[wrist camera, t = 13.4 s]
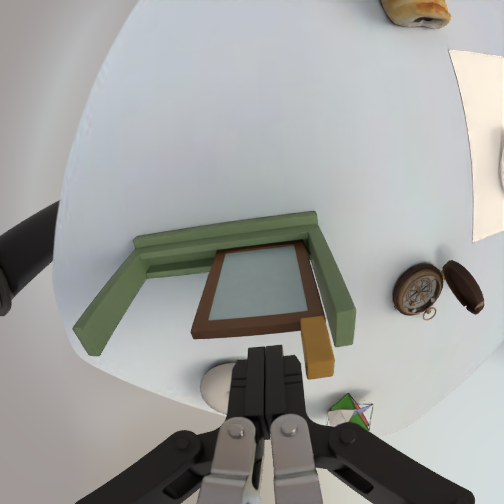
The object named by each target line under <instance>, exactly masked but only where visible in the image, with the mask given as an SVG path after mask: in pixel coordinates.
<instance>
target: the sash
mask: <svg viewBox="0 0 504 504" xmlns="http://www.w3.org/2000/svg"><path fill="white" fill-rule="evenodd" d="M293 331H301V338H302V345H303V352H304V360H305V368H306V376H307V379H316V378H323V377H330V376H333V374H334V362H335V359H334V355H333V350H332V346H331V342H330V338H329V334H328V330H327V326H326V318H325V314H324V311H323V307H322V303H321V300H320V296H319V292H318V289H317V285H316V282H315V278H314V275H313V271H312V268H311V264H310V261H309V257H308V254H307V251H306V247H305V244H304V241H303V239H299V240H291V241H283V242H275V243H267V244H259V245H251V246H243V247H235V248H228V249H220V250H217V252H216V255H215V258H214V261H213V264H212V267H211V270H210V273H209V276H208V279H207V282H206V285H205V288H204V291H203V294H202V297H201V300H200V303H199V306H198V309H197V313H196V316H195V319H194V322H193V325H192V328H191V334H192V337H193V339H210V338H227V337H241V336H253V335H264V334H274V333H284V332H293Z"/></svg>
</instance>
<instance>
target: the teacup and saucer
mask: <svg viewBox="0 0 504 504" xmlns="http://www.w3.org/2000/svg"><path fill="white" fill-rule="evenodd" d="M500 180H501V185H502V188H503V189H504V147H503V148H502V152H501V157H500Z"/></svg>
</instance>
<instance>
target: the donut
mask: <svg viewBox="0 0 504 504" xmlns="http://www.w3.org/2000/svg"><path fill="white" fill-rule="evenodd" d="M235 364H236V363H228V364H223V365H219V366H217V367H215V368H212V369H210V370H209V371H208V372H207V373H206V374H205V375H204V377H203V378H202V380H201V384H200V392H201V395H202V398H203V400H204V401H205V402H206V403H207V404H208V405H209V406H210V407H211V408H212V409H214V410H216V411H217V412H220V413H223V414H225V415H227V409H228V401H229V392H230V384H231V375H232V368H233V367H234V365H235Z"/></svg>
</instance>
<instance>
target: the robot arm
mask: <svg viewBox="0 0 504 504" xmlns="http://www.w3.org/2000/svg"><path fill="white" fill-rule="evenodd" d="M1 307H2V298H1V295H0V309H1ZM270 434H271V444H272V455H273V467H274V492H275V504H323V500H322V495H321V489H320V483H319V478H318V474H317V471H316V468H323V469H327V470H328V471H329V472H331V473H332V474H333V475H335V476H336V477H337V478H338V479H340V480H341V481H342V482H344V483H345V484H347V485H348V486H349V487H350V488H352V489H353V490H354V491H356V492H357V493H359V494H360V495H361V496H363V497H364V498H366V499H367V500H369V501H370V502H371V503H373V504H475V498H474V495H473V493H472V492H471V491H469V490H467V489H465V488H463V487H461V486H459V485H457V484H455V483H453V482H451V481H450V480H448V479H446V478H444V477H442V476H440V475H439V474H436V473H435V472H433V471H431V470H430V469H428V468H426V467H425V466H423V465H421V464H419V463H418V462H416V461H414V460H413V459H411V458H409V457H408V456H406V455H405V454H403V453H401V452H400V451H398V450H396V449H395V448H393V447H392V446H390V445H389V444H387V443H386V442H384V441H382V440H381V439H379V438H378V437H377V436H375V435H374V434H372V433H371V432H369V431H368V430H366V429H365V428H363V427H362V426H360V425H359V424H357V423H353V422H344V423H341V424H339V425H337V426H335V427H332V426H324V425H319V424H317V423H315V422H313V421H312V420H310V418H309V417H308V416H307V413H306V408H305V399H304V389H303V380H302V371H301V363H300V362H299V360H298V359H297V357H296V356H295V355H290V356H284V355H283V347H282V345H275V346H266V349H265V347H253V348H248V358H247V359H246V360H238V361H237V362H236V364H235V365H234V367H233V368H232V375H231V384H230V392H229V401H228V409H227V417H226V420H225V422H224V423H223V424H222V425H221V426H220V427H219V428H218V429H216V430H214V431H211V432H207V433H203V434H199V435H196V434H195V433H193V432H191V431H187V430H182V431H178V432H175V433H174V434H172V435H171V436H170V437H168V438H167V439H166V440H165V441H164V442H162V443H161V444H159V445H158V446H157V447H156V448H155V449H153V450H152V451H151V452H149V453H148V454H146V455H145V456H144V457H142V458H141V459H140V460H138V461H137V462H136V463H134V464H133V465H132V466H130V467H129V468H127V469H126V470H125V471H123V472H122V473H120V474H119V475H117V476H116V477H114V478H113V479H112V480H110V481H109V482H107V483H106V484H104V485H103V486H101V487H99V488H98V489H97V490H95V491H93V492H92V493H90V494H89V495H87V496H85V497H84V498H82V499H80V500H79V501H77V502H76V503H75V504H181V503H182V502H183V501H184V500H186V499H187V498H188V497H190V496H191V495H192V494H193V493H194V492H196V491H197V490H198V489H199V488H200V491H199V496H198V500H197V504H261V503H260V502H261V496H260V488H261V480H262V471H263V462H264V440H268V439H270ZM315 467H316V468H315Z"/></svg>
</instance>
